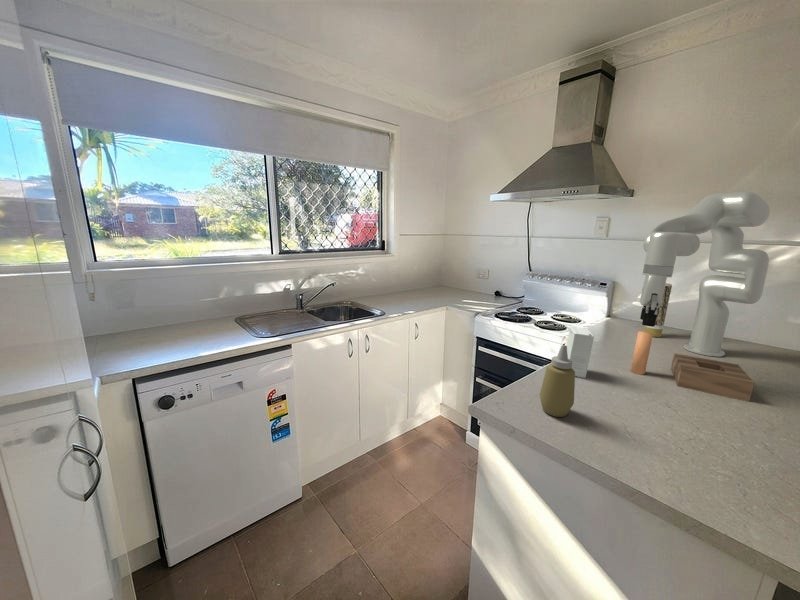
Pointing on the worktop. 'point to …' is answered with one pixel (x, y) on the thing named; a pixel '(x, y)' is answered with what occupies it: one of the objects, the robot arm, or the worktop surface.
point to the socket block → (711, 376)
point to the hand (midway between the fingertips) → (646, 322)
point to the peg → (641, 352)
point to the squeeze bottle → (558, 385)
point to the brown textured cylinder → (660, 314)
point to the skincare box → (579, 349)
